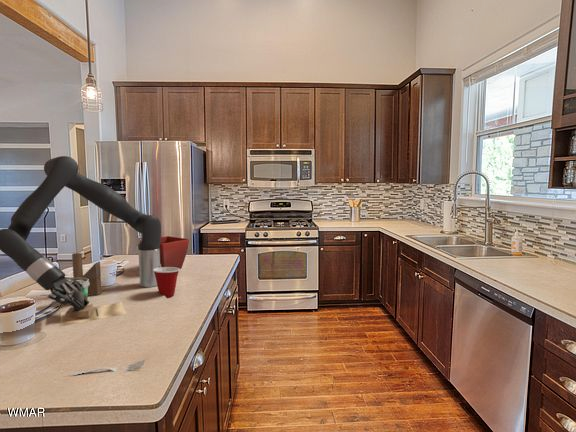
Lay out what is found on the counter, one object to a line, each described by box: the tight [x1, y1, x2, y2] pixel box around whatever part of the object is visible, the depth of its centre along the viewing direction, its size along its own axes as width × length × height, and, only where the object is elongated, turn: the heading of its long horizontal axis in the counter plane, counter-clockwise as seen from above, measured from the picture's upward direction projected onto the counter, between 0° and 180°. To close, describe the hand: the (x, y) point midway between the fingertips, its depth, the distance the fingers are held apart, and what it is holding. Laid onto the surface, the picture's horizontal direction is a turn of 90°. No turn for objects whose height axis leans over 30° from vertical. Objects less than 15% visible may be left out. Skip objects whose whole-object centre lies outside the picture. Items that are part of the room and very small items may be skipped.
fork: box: [71, 359, 147, 376], centre depth 88 cm, size 3×24×2 cm, turn 103°
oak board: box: [59, 301, 128, 327], centre depth 123 cm, size 20×14×2 cm
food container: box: [66, 277, 90, 300], centre depth 136 cm, size 12×6×10 cm, turn 71°
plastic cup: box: [153, 267, 181, 299], centre depth 146 cm, size 11×11×12 cm
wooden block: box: [71, 252, 102, 296], centre depth 148 cm, size 4×11×18 cm, turn 92°
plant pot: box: [139, 235, 190, 270], centre depth 190 cm, size 19×19×17 cm
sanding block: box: [65, 291, 94, 321], centre depth 120 cm, size 7×7×8 cm
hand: (84, 306), depth 120 cm, fingers closed on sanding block, 3 cm apart
